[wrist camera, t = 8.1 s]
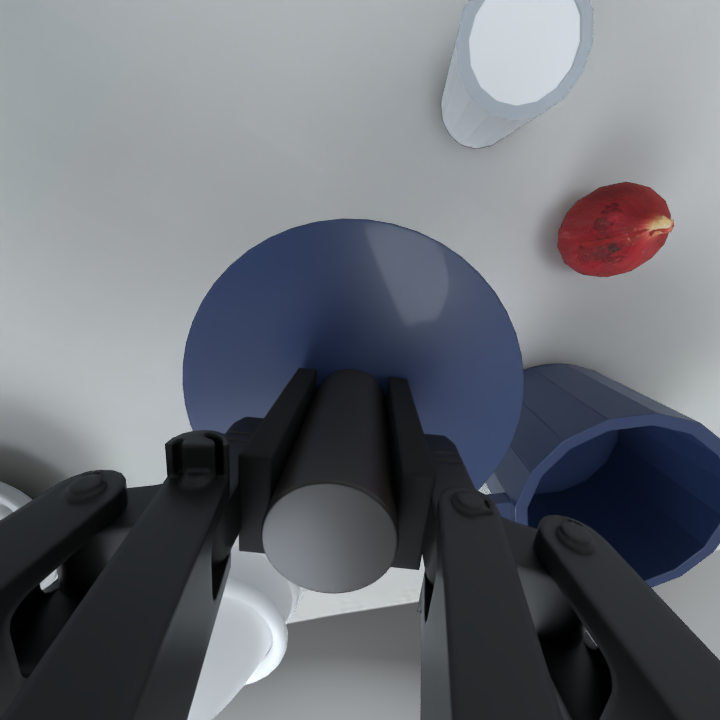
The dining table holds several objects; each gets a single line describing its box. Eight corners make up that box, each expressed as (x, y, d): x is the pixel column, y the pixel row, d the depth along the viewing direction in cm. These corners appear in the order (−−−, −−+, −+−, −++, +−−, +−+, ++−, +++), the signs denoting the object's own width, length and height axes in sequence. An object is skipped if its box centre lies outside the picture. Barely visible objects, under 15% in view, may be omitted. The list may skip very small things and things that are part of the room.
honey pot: (348, 534, 35) (327, 806, 17) (247, 578, 37) (139, 860, 19) (280, 436, 32) (173, 649, 14) (174, 491, 34) (-30, 733, 16)
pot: (434, 380, 30) (465, 437, 20) (661, 347, 28) (812, 392, 18) (448, 507, 33) (480, 606, 24) (649, 484, 32) (769, 580, 22)
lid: (152, 256, 14) (-167, 245, 6) (504, 191, 13) (747, 59, 5) (242, 535, 18) (130, 771, 10) (518, 504, 17) (663, 740, 9)
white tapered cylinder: (522, 158, 24) (580, 120, 18) (428, 157, 25) (449, 118, 18) (539, 43, 22) (610, -50, 16) (436, 42, 23) (464, -49, 16)
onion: (556, 288, 27) (630, 300, 19) (525, 225, 26) (590, 209, 18) (627, 246, 26) (734, 241, 18) (598, 178, 25) (700, 141, 17)
